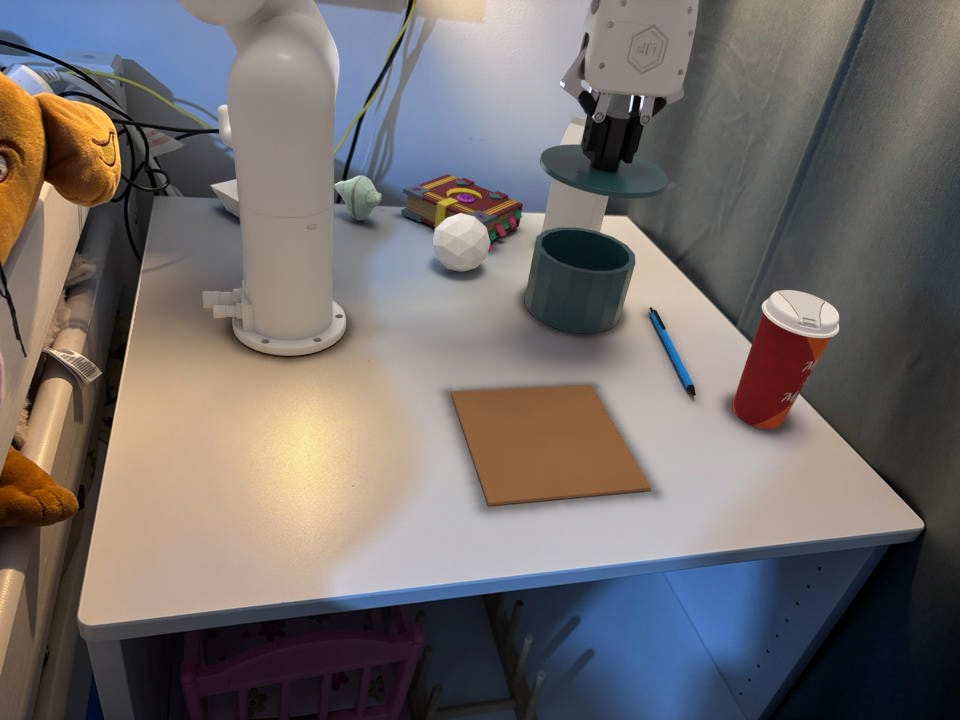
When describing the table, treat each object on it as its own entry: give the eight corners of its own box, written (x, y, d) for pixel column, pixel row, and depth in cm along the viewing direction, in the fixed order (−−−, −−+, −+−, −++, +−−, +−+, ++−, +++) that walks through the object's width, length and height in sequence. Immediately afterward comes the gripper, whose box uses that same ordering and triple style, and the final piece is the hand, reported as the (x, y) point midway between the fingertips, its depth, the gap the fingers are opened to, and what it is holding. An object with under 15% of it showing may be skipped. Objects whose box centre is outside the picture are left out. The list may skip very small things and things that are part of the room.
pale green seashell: (329, 216, 108) (329, 173, 104) (345, 208, 111) (345, 165, 107) (374, 231, 105) (376, 188, 102) (389, 222, 109) (392, 180, 105)
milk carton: (555, 230, 114) (580, 110, 103) (597, 244, 112) (627, 122, 101) (538, 246, 109) (563, 120, 98) (582, 260, 106) (612, 133, 96)
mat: (488, 506, 64) (488, 502, 63) (450, 394, 76) (451, 391, 76) (650, 490, 68) (651, 487, 68) (589, 387, 80) (590, 384, 80)
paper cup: (797, 442, 77) (852, 333, 69) (725, 426, 78) (771, 316, 70) (786, 399, 83) (835, 295, 75) (719, 385, 84) (761, 280, 76)
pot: (541, 334, 88) (554, 273, 83) (513, 283, 98) (523, 226, 93) (634, 332, 91) (651, 273, 87) (598, 283, 101) (612, 227, 96)
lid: (564, 202, 69) (579, 133, 65) (522, 152, 79) (532, 90, 76) (688, 205, 73) (709, 140, 69) (632, 157, 83) (647, 98, 80)
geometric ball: (467, 290, 100) (487, 266, 93) (416, 263, 99) (433, 237, 92) (486, 248, 103) (506, 222, 96) (437, 221, 102) (454, 192, 95)
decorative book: (445, 198, 119) (448, 169, 116) (526, 231, 112) (531, 201, 109) (400, 216, 111) (402, 185, 108) (484, 253, 104) (489, 221, 101)
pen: (652, 311, 96) (655, 304, 96) (697, 400, 81) (701, 392, 80) (646, 310, 96) (648, 303, 95) (690, 399, 81) (693, 391, 80)
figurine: (246, 229, 101) (240, 122, 92) (207, 206, 105) (197, 102, 97) (288, 217, 106) (286, 114, 97) (249, 195, 110) (244, 95, 102)
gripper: (586, -46, 59) (545, 169, 70) (754, -23, 64) (692, 174, 74) (556, -58, 65) (521, 142, 75) (712, -37, 70) (659, 149, 80)
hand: (606, 156), depth 75 cm, fingers closed on lid, 3 cm apart
